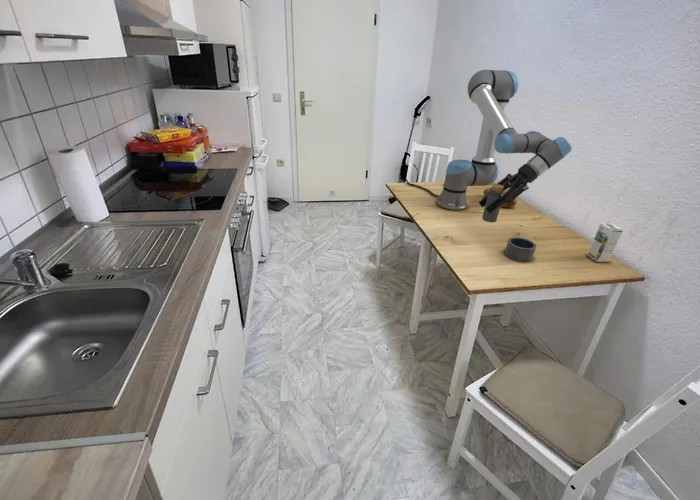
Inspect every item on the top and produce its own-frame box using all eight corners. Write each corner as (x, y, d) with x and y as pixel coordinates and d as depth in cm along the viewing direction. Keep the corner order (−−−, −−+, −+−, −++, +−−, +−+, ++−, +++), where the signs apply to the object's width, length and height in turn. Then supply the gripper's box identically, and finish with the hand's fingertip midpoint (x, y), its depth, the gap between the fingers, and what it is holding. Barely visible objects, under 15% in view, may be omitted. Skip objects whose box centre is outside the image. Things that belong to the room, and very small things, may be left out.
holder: (500, 254, 144) (504, 242, 142) (510, 246, 151) (513, 234, 149) (527, 264, 138) (531, 252, 136) (535, 255, 145) (540, 243, 143)
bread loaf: (517, 210, 192) (504, 191, 207) (519, 198, 187) (506, 179, 202) (492, 214, 193) (480, 194, 208) (493, 201, 188) (482, 182, 203)
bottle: (497, 223, 150) (506, 188, 142) (482, 221, 151) (491, 187, 143) (495, 217, 155) (504, 184, 147) (481, 216, 156) (489, 182, 148)
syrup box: (586, 255, 148) (599, 222, 141) (599, 255, 148) (613, 222, 142) (595, 262, 143) (610, 229, 136) (609, 262, 143) (624, 229, 137)
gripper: (550, 184, 137) (499, 223, 143) (523, 169, 154) (478, 205, 159) (541, 170, 134) (489, 210, 140) (515, 157, 150) (470, 193, 156)
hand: (484, 207), depth 150 cm, fingers closed on bottle, 6 cm apart
